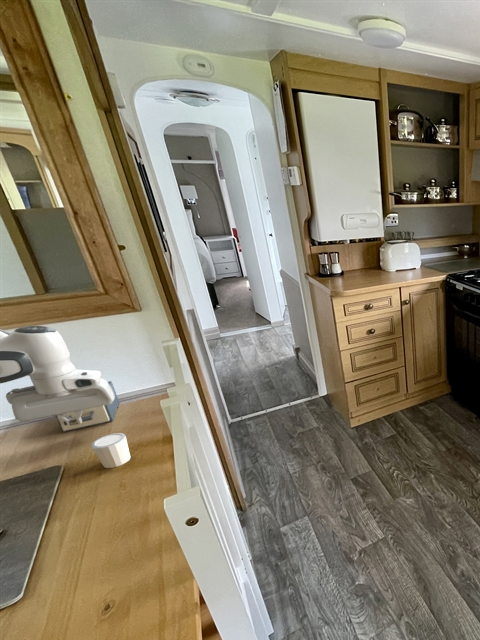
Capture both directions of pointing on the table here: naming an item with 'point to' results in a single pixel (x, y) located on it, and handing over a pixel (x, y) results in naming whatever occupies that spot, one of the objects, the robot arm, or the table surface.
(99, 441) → the white faceted cup
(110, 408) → the blue drawer cabinet
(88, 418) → the drawer
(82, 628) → the table surface
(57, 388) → the robot arm
